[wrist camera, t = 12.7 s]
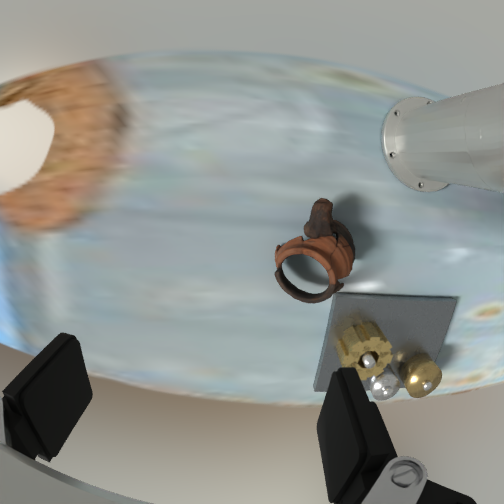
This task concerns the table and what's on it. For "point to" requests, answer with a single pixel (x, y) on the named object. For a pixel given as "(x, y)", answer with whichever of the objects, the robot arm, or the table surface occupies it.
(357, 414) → the robot arm
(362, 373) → the planet gear
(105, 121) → the table surface
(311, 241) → the brown clawed ring bracket
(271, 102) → the table surface
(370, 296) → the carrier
